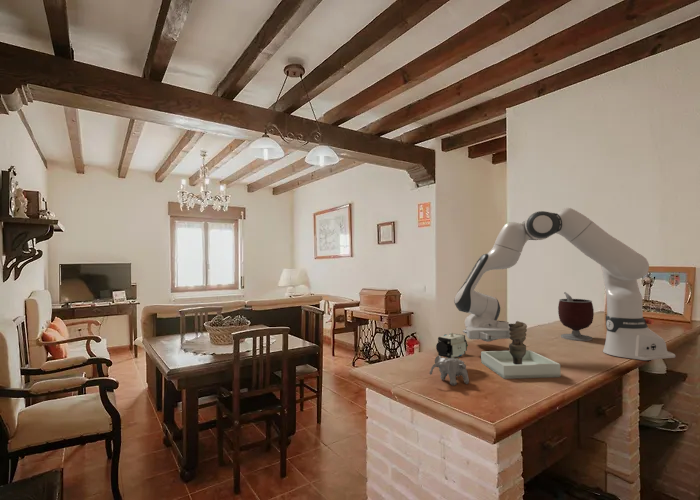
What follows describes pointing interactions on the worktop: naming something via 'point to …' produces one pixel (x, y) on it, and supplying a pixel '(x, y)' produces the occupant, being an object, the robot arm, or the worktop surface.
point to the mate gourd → (575, 316)
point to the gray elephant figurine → (451, 369)
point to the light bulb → (517, 341)
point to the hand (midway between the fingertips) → (501, 337)
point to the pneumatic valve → (451, 345)
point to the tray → (520, 365)
